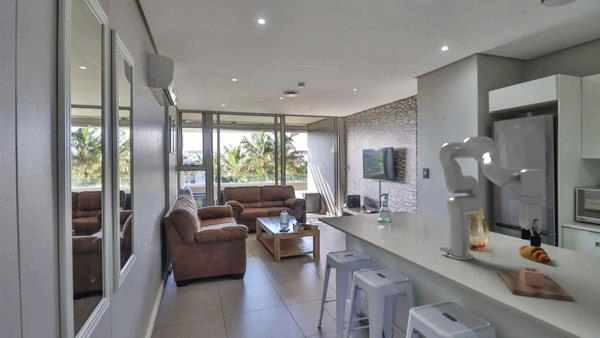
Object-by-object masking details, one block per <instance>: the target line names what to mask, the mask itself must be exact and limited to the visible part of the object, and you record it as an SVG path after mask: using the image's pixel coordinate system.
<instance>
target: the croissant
mask: <svg viewBox="0 0 600 338" xmlns="http://www.w3.org/2000/svg"><path fill="white" fill-rule="evenodd" d="M518 251H519V254H520V256H522V257H523V258H525V259H527V258H528V259H527V260H532V261H536V262H538V263H544V264H545V263H546V264H547V263H550V262H551V258H550V256H548V252H547V251H546V250H545V248H543V247H542V246H541V247H534V246H530V245H523V246H519V248H518Z"/></svg>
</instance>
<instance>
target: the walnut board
mask: <svg viewBox="0 0 600 338" xmlns="http://www.w3.org/2000/svg"><path fill="white" fill-rule="evenodd" d="M497 275H498V276H499V278H500V279H501V280H502V282H503V283H504V285H506V287H507V288H508V290H509V291H510V293H511V294H513V295H521V296H527V297H528V296H529V297H536V298H546V299H554V300H555V299H556V300H564V301H574V299H573V296H572V295H571V294H570V292H568V291H567V290H565V289H564V288H563V287H562V286H561V285H560V284H558V283H557V282H556V281H555V280H554V279H553V278H551V277H550V276H549V275H544V274H543V286H535V285H526V284H524V283H523V282H522V281H521V280H520V279H519V272H511V271H504V270H503V271H500V270H497Z"/></svg>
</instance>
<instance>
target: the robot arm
mask: <svg viewBox="0 0 600 338" xmlns="http://www.w3.org/2000/svg"><path fill="white" fill-rule="evenodd" d="M495 147H496V143H495V141H494V140H493V139H492V137H489V136H469V137H467V138H465V139H464V140H463V141H452V142H446V143H444V144H443V145H442V146H441V147H440V149H439V152H438V153H439V156H438V157H439V161H440V164H441V167H442V170H443V176H444V181H445V186H446V190H447V192H449V194H454V195H455V196H452V197H450V198H448V199H447V201H446V210H447V214H448V227H449V229H448V230H449V231H448V233H449V234H448V235H449V237H448V238H449V240H448V246H446V247H444V246H439V252H440V251H442V252H443V253H445V255H446V257H448V258H451V259H453V260H460V261H461V260H462V261H463V260H464V261H470V260H473V259H474V255H473V254H472V253H471V244H470V243H471V235H470V234H471V231H470V230H471V225H470V220H469V219H468V217H467V215H470V214H471V215H474V214H478V213H480V212H481V211H482V209H483V206H484V204H483V199H482V198H483V197H482V194H481V189H480V185H479V182H478V180H477V179H476V177H474V176H472V175H469V174H467V175H464V174H463V171H462V167H461V165H460V163H459V162H458V161H457V160H456V159H472V158H473V159H474V160H475V161H477V163H479V164H480V169H481V173H482V174H483V176H484V177H486V178H487V179H488V180H490V181H491V183H493V184H494V185H497V186H500V187H510V186H511V187H513V186H514V187H515V186H516V187H517V186H519V197H518V198H519V201H518V202H519V204H520V206H519V213H518V214H519V217H518V225H519V226H520V229H521V233H520V234H521V235H520V236H521V237H520V239H521V240H527V241H529V246H534V247H541V248H542V230H543V213H542V211H543V209H542V206H543V205H544V201H545V200H544V198H545V197H544V194H545V193H544V192H545V191H544V190H545V189H544V188H545V187H544V185H545V172H544V170H542V169H541V168H540V169H539V168H525V167H501V166H500V165H499V164H497V163H496V162H497V160H498V159H499V152H498V151H497V150H496V149H495ZM457 194H458V195H457ZM459 194H460V195H459ZM461 194H464V195H461ZM456 195H457V196H456Z"/></svg>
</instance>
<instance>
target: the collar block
mask: <svg viewBox="0 0 600 338" xmlns="http://www.w3.org/2000/svg"><path fill="white" fill-rule="evenodd" d="M532 271H533V272H532ZM518 273H519V279H520V280H521V281H522V282H523V283H524V284H526V285H535V286H543V275H544V273H543V271H541V270H540V269H539V268H538V267H528V266H519V271H518Z"/></svg>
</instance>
